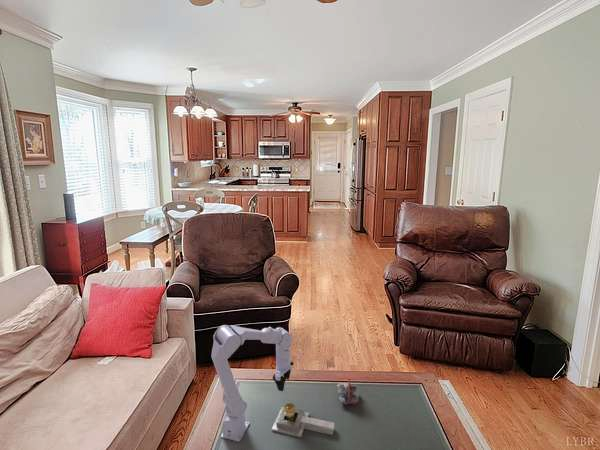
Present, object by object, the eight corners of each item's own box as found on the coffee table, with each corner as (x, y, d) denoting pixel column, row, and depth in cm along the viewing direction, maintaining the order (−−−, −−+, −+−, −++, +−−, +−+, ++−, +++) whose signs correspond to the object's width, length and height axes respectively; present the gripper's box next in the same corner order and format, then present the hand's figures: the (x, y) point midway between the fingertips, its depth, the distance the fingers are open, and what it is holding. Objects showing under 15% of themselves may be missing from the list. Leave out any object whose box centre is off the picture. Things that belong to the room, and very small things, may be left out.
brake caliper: (365, 404, 148) (348, 384, 146) (343, 416, 150) (327, 396, 149) (363, 386, 158) (347, 367, 157) (344, 397, 161) (328, 378, 160)
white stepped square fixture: (330, 444, 131) (330, 437, 131) (271, 430, 138) (271, 424, 137) (336, 420, 143) (336, 414, 142) (282, 408, 149) (281, 402, 148)
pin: (293, 427, 140) (293, 412, 138) (283, 424, 141) (282, 409, 139) (297, 419, 144) (296, 404, 142) (287, 416, 145) (286, 401, 144)
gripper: (286, 368, 138) (287, 397, 142) (297, 348, 152) (297, 375, 155) (269, 365, 140) (271, 394, 144) (281, 345, 154) (282, 372, 157)
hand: (283, 384), depth 150 cm, fingers open, 7 cm apart
